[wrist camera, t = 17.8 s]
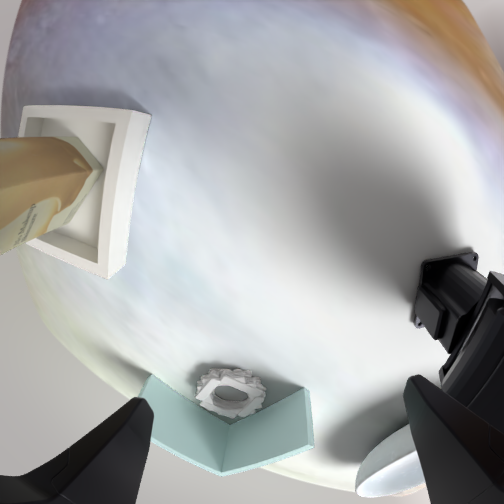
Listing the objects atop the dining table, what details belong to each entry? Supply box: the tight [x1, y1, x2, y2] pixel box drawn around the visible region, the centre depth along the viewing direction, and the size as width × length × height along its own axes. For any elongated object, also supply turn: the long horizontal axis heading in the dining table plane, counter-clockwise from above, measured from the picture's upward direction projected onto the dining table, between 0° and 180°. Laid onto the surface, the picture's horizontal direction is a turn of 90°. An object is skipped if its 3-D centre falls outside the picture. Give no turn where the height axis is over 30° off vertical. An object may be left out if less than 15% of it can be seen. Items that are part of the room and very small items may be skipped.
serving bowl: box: [355, 424, 425, 497], centre depth 25 cm, size 21×21×7 cm
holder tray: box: [18, 105, 152, 280], centre depth 17 cm, size 12×12×3 cm
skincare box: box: [0, 136, 104, 255], centre depth 12 cm, size 6×4×12 cm
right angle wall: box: [138, 368, 314, 477], centre depth 22 cm, size 12×12×8 cm
